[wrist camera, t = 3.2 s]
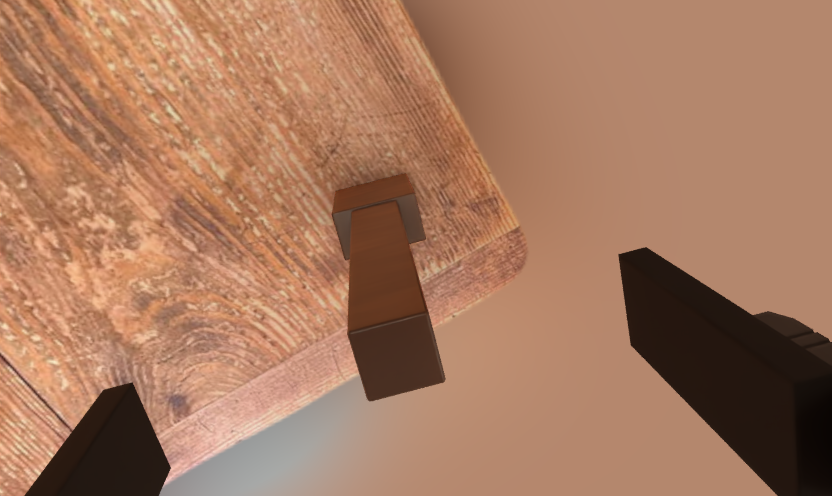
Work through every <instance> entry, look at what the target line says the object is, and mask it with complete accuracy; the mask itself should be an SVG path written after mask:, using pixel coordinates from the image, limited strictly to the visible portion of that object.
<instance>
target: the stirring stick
mask: <svg viewBox="0 0 832 496" xmlns="http://www.w3.org/2000/svg"><path fill="white" fill-rule="evenodd" d="M332 217H333V221H334V224H335V227H336V231H337V234H338V237H339V241H340V244H341V248H342V251H343V254H344V258H345V260H349V259H350V267H349V298H348V330H347V335H348V338H349V341H350V344H351V348H352V351H353V354H354V358H355V361H356V364H357V367H358V371H359V374H360V377H361V380H362V384H363V387H364V390H365V393H366V397H367V399H368V400H369V401H374V400H378V399H382V398H386V397H389V396H394V395H397V394H401V393H405V392H408V391H413V390H417V389H420V388H424V387H428V386H432V385H436V384H439V383H443V382H444V381H445V375H444V371H443V367H442V363H441V359H440V355H439V351H438V347H437V343H436V339H435V336H434V332H433V328H432V324H431V320H430V316H429V312H428V309H427V305H426V302H425V298H424V294H423V291H422V287H421V284H420V280H419V277H418V273H417V270H416V266H415V263H414V259H413V256H412V252H411V249H410V245H409V244H411V243H415V242H419V241H422V240H425V239H426V236H425V232H424V228H423V224H422V220H421V216H420V212H419V208H418V204H417V200H416V196H415V192H414V190H413V188H412V185H411V183H410V181H409V178H408V176H407V174H406V173H404V174H400V175H396V176H392V177H388V178H385V179H381V180H377V181H373V182H369V183H365V184H361V185H357V186H353V187H349V188H345V189H342V190H338V191H335V197H334V204H333V210H332Z"/></svg>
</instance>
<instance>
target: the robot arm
mask: <svg viewBox="0 0 832 496" xmlns="http://www.w3.org/2000/svg"><path fill="white" fill-rule="evenodd" d="M619 263H620V270H621V277H622V284H623V291H624V299H625V306H626V314H627V321H628V328H629V336H630V343H631V346H632V347H633V348H634V349H635V350H636V351H637V352H638V353H639V354H640V355H641V356H642V357H643V358H644V359H645V360H646V361H647V362H648V363H649V364H650V365H651V366H652V367H653V368H654V369H655V370H656V371H657V372H658V373H659V375H661V377H662V378H663V379H664V380H665V381H666V382H667V383H668V384H669V385H670V386H671V387H672V388H673V389H674V390H675V391H676V392H677V393H678V394H679V395H680V396H681V397H682V398H683V399H684V400H685V401H686V402H687V403H688V404H689V405H690V406H691V407H692V408H693V409H694V410H695V411H696V412H697V413H698V414H699V416H700V417H701V418H702V419H703V420H705V422H706V423H707V424H708V425H710V427H711V428H712V429H713V430H714V431H715V432H716V433H717V434H718V435H719V436H720V437H721V438H722V439H723V440H724V441H725V442H726V443H727V444H728V445H729V446H730V447H731V448H732V449H733V450H734V451H735V452H736V453H737V454H738V455H739V456H740V457H741V459H742V460H743V461H744V462H745V463H746V464H747V465H748V466H749V467H750V468H751V469H752V470H753V471H754V472H755V473H756V474H757V475H758V476H759V477H760V478H761V479H762V480H763V481H764V482H765V483H766V484H767V485H768V486H769V487H770V488H771V489H772V490H773V491H774V492H775V493H776V494H777V495H778V496H832V342H830V341H829V339H828V338H826V337H824V336H823V335H821V334H819V333H818V332H817V333H814V332H813V330H812V329H810V328H809V327H807V326H806V325H804V324H802V323H801V322H799V321H797V320H795V319H793V318H790V317H786V316H783V315H779V314H776V313H772V312H769V311H767V312H764V313H760V314H756V315H751V314H750V313H748V312H747V311H745V310H744V309H742V308H740V307H739V306H737V305H736V304H734V303H732V302H731V301H730V300H728V299H726V298H725V297H723V296H722V295H720V294H719V293H717V292H715V291H714V290H712V289H711V288H709V287H708V286H706V285H704V284H703V283H701V282H700V281H698V280H697V279H695V278H694V277H692V276H690V275H689V274H687V273H686V272H684V271H683V270H681V269H680V268H678V267H676V266H675V265H673V264H672V263H670V262H668V261H667V260H665V259H664V258H662V257H661V256H659V255H658V254H656V253H654V252H653V251H651V250H650V249H648V248H647V247H645V248H641V249H637V250H633V251H630V252H626V253H622V254H619ZM170 469H171V467H170V465H169V463H168V460H167V458H166V456H165V454H164V452H163V449H162V447H161V445H160V443H159V440H158V438H157V436H156V434H155V432H154V429H153V427H152V425H151V423H150V420H149V418H148V416H147V414H146V411H145V409H144V407H143V405H142V403H141V400H140V398H139V396H138V394H137V391H136V389H135V387H134V385H133V382H132V383H128V384H124V385H121V386H117V387H113V388H109V389H105V390H103V391H102V393H101V394H100V395H99V397H98V398H97V399H96V401H95V402H94V403H93V405H92V406H91V407H90V409H89V410H88V411H87V413H86V414H85V415H84V417H83V418H82V419H81V421H80V422H79V423H78V425H77V426H76V427H75V429H74V430H73V431H72V433H71V434H70V435H69V437H68V438H67V439H66V441H65V442H64V443H63V445H62V446H61V447H60V449H59V450H58V451H57V453H56V454H55V455H54V457H53V458H52V459H51V461H50V462H49V464H48V465H47V466H46V468H45V469H44V470H43V472H42V473H41V474H40V476H39V477H38V478H37V480H36V481H35V482H34V484H33V485H32V486H31V488H30V489H29V490H28V492H27V493H26V494H25V496H159V494H160V491H161V489H162V487H163V485H164V482H165V480H166V478H167V476H168V473H169V471H170Z"/></svg>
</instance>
